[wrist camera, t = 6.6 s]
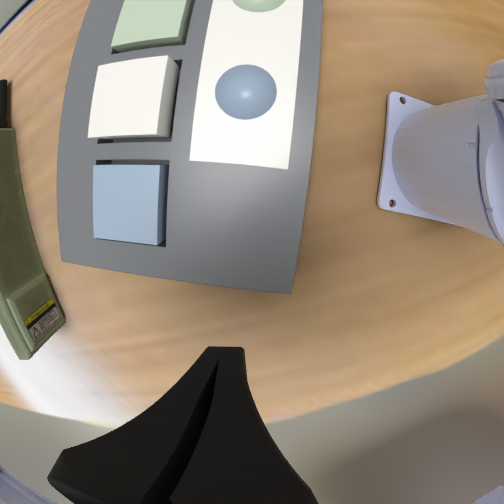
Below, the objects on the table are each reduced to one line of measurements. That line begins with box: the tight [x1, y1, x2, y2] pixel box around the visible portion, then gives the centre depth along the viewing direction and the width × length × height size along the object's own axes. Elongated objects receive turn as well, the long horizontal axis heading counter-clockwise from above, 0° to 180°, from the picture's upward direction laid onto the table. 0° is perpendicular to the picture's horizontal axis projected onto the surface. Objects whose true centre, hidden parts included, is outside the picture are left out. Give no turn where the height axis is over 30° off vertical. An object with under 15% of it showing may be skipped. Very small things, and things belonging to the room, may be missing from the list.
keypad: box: [57, 0, 323, 294], centre depth 13 cm, size 16×27×3 cm, turn 174°
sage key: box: [111, 0, 195, 53], centre depth 11 cm, size 4×4×2 cm
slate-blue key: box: [93, 164, 169, 245], centre depth 15 cm, size 4×4×2 cm
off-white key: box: [88, 55, 179, 139], centre depth 13 cm, size 4×4×2 cm
